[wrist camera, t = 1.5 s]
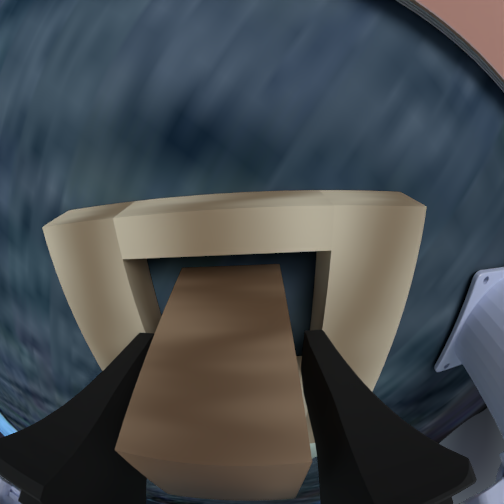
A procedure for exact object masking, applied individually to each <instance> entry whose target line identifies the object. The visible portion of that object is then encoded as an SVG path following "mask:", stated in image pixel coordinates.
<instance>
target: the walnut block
mask: <svg viewBox="0 0 504 504" xmlns="http://www.w3.org/2000/svg"><path fill="white" fill-rule="evenodd" d="M115 451H116V452H117V453H118V454H120V455H121V456H122V457H123V458H124V459H125V460H126V461H127V462H128V463H130V464H131V465H132V466H133V467H134V468H135V469H137V470H138V471H139V472H140V473H141V474H143V475H144V476H145V477H146V478H148V479H149V480H150V481H151V482H153V483H154V484H155V485H157V486H158V487H159V488H161V489H162V490H163V491H165V492H166V493H168V494H172V495H179V496H186V497H194V498H204V499H217V500H278V499H291V498H295V497H296V495H297V493H298V491H299V489H300V487H301V485H302V483H303V481H304V479H305V476H306V474H307V472H308V470H309V468H310V465H311V463H312V457H311V449H310V442H309V435H308V428H307V422H306V415H305V408H304V402H303V396H302V389H301V383H300V377H299V371H298V365H297V359H296V353H295V347H294V341H293V335H292V329H291V324H290V318H289V313H288V307H287V302H286V296H285V291H284V285H283V280H282V275H281V269H280V264H265V265H241V266H215V267H187V268H182V269H181V272H180V274H179V276H178V279H177V281H176V283H175V285H174V288H173V290H172V293H171V295H170V297H169V300H168V302H167V304H166V307H165V309H164V312H163V314H162V317H161V319H160V322H159V324H158V327H157V329H156V332H155V334H154V337H153V339H152V342H151V344H150V347H149V350H148V352H147V355H146V358H145V360H144V363H143V366H142V368H141V371H140V374H139V377H138V380H137V382H136V385H135V388H134V391H133V394H132V397H131V400H130V403H129V406H128V409H127V412H126V415H125V418H124V421H123V424H122V427H121V430H120V433H119V437H118V440H117V443H116V447H115Z"/></svg>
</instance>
